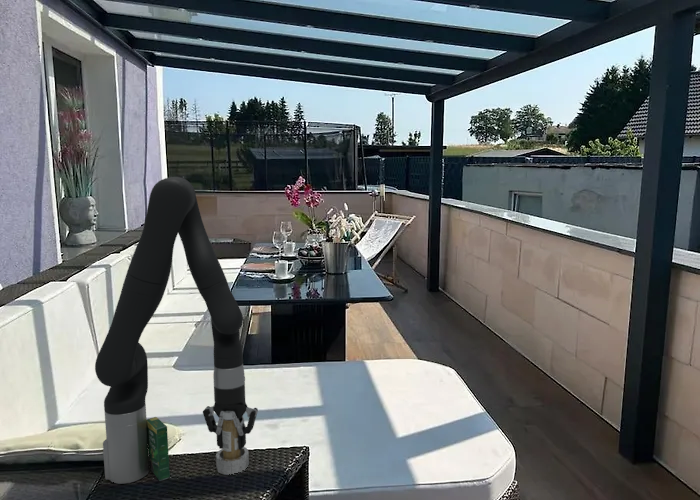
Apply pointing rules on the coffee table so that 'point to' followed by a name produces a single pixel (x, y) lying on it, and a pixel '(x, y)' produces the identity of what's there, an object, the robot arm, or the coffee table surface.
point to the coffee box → (158, 448)
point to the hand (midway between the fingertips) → (231, 447)
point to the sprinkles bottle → (230, 437)
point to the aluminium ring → (232, 462)
